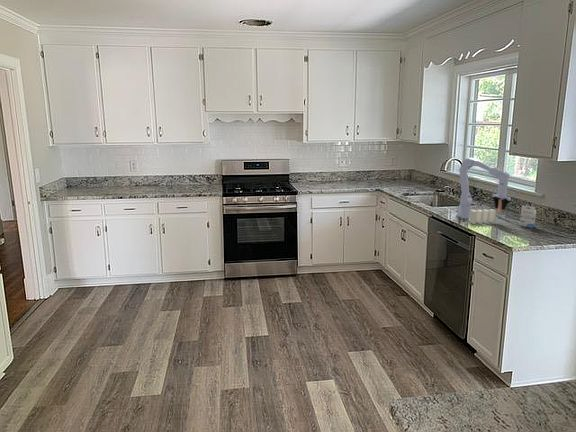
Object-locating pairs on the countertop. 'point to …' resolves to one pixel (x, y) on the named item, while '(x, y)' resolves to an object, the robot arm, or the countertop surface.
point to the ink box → (527, 216)
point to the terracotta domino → (499, 207)
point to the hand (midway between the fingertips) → (500, 208)
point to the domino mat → (490, 222)
